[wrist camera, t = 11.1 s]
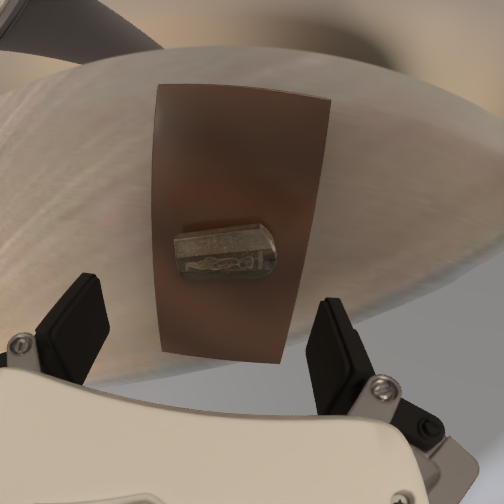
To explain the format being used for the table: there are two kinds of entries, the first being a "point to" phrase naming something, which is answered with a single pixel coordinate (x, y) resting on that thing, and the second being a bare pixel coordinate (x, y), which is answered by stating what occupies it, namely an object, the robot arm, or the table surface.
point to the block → (226, 253)
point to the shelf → (233, 210)
